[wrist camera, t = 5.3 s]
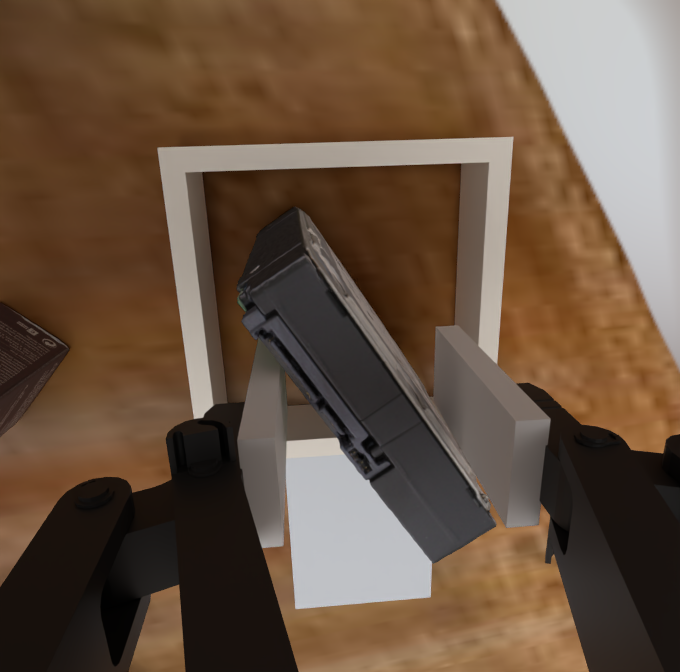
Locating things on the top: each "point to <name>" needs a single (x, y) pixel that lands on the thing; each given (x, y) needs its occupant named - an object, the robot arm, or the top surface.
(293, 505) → the mat
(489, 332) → the storage box
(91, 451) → the top surface
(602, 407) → the top surface
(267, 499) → the robot arm
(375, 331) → the disk drive
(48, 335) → the box
